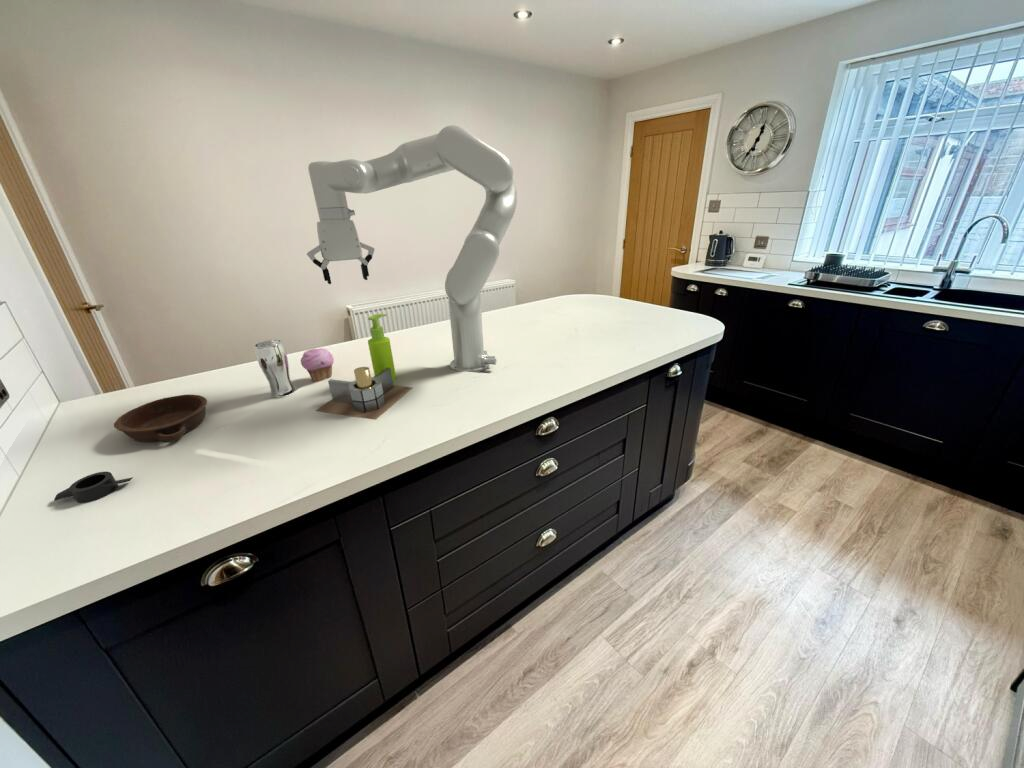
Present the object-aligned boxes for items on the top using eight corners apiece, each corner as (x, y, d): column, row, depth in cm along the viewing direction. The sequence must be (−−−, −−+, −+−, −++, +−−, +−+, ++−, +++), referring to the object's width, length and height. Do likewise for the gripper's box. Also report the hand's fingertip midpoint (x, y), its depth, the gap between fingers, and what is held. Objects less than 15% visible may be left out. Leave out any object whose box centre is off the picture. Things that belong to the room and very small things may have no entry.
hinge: (404, 388, 109) (400, 368, 106) (373, 413, 97) (368, 392, 94) (359, 383, 113) (355, 364, 110) (324, 407, 100) (318, 386, 98)
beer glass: (276, 388, 114) (260, 339, 107) (301, 386, 114) (286, 338, 108) (265, 399, 108) (247, 348, 101) (291, 397, 108) (275, 347, 102)
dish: (124, 463, 83) (113, 443, 81) (122, 425, 98) (113, 407, 95) (221, 431, 94) (213, 413, 91) (206, 401, 108) (199, 385, 106)
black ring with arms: (98, 478, 79) (91, 466, 77) (140, 482, 77) (134, 470, 76) (52, 505, 72) (44, 493, 70) (97, 510, 70) (89, 497, 69)
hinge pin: (379, 402, 102) (372, 367, 98) (370, 409, 99) (363, 373, 94) (367, 401, 103) (359, 366, 98) (358, 407, 100) (350, 371, 95)
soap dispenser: (402, 377, 118) (392, 313, 109) (387, 387, 112) (374, 320, 104) (387, 375, 120) (376, 311, 112) (371, 384, 115) (358, 318, 106)
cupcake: (302, 380, 118) (293, 350, 114) (330, 371, 124) (322, 342, 120) (314, 389, 113) (305, 357, 108) (343, 379, 118) (335, 348, 114)
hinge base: (413, 390, 110) (413, 387, 110) (376, 423, 94) (375, 419, 94) (359, 384, 115) (358, 381, 114) (315, 414, 99) (314, 410, 99)
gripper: (365, 213, 109) (376, 275, 117) (297, 216, 102) (313, 282, 109) (370, 214, 103) (381, 279, 111) (298, 217, 96) (315, 287, 103)
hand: (347, 281), depth 110 cm, fingers open, 9 cm apart
